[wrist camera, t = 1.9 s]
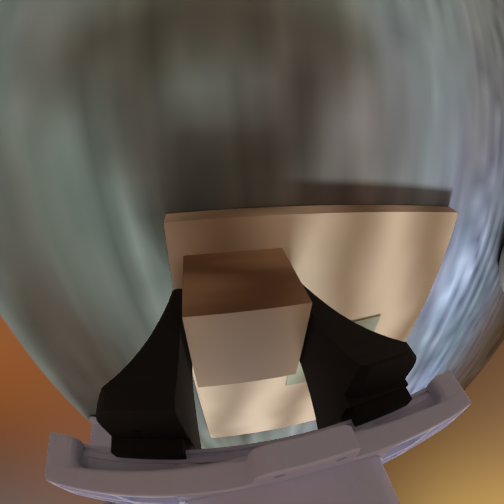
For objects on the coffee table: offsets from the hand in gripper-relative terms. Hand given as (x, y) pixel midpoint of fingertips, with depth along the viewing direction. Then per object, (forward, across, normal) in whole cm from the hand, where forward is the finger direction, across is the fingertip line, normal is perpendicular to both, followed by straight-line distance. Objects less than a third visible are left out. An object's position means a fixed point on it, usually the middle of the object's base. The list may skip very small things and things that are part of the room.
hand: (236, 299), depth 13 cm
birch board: (+2, -6, +8) cm, 10 cm away
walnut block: (+1, 0, 0) cm, 1 cm away
